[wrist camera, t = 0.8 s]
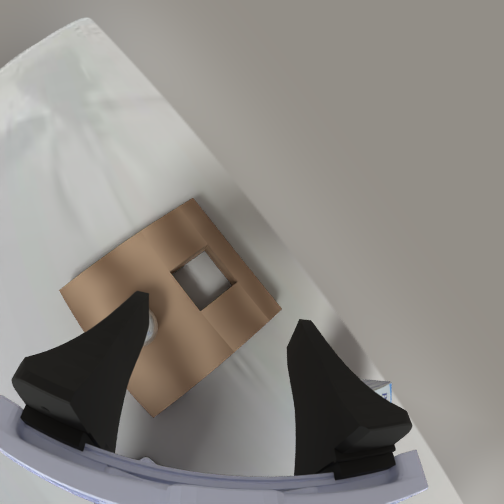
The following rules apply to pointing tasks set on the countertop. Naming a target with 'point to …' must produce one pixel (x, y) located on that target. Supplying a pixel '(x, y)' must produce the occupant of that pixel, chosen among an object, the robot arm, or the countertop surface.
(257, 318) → the hole plate
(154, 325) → the steel ball
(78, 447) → the robot arm
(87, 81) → the countertop surface
